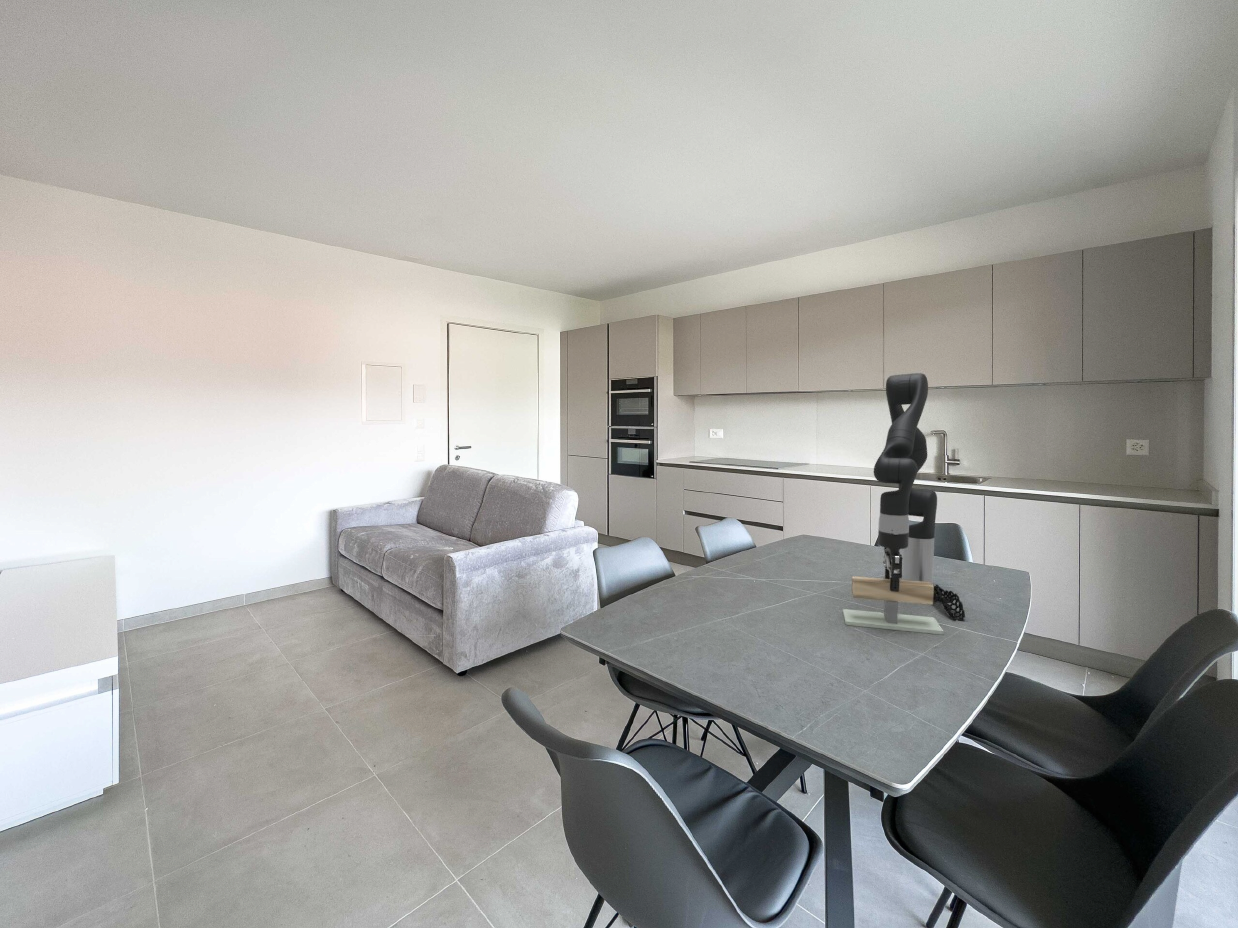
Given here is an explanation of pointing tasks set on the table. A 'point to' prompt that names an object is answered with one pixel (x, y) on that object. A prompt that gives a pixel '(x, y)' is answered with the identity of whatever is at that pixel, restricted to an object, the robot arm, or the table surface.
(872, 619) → the fulcrum
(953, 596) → the decorative element
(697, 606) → the table surface
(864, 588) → the plank
